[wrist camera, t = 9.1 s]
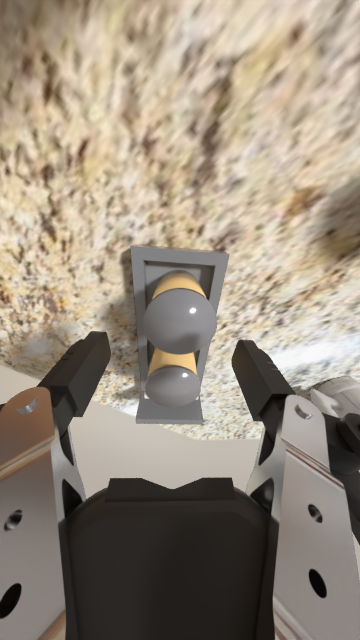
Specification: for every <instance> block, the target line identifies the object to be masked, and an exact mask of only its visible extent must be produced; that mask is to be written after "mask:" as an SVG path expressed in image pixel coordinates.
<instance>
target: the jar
mask: <svg viewBox="0 0 360 640" xmlns="http://www.w3.org/2000/svg"><path fill="white" fill-rule="evenodd" d="M143 328H144V332H145V335H146V337H147V338H148V340H149V341H150V342H151V343H152V344H153V345H154V346H155V347H156V348H158V349H159V350H161V351H164V352H166V353H170V354H176V355H183V354H189V353H193V352H196V351H198V350H200V349H201V348H203V347H204V346H206V345H207V344H208V343H209V342H210V341H211V339H212V338H213V336H214V334H215V332H216V328H217V317H216V314H215V311H214V309H213V307H212V305H211V303H210V302H209V301H208V299H207V298H206V296H205V294H204V292H203V290H202V288H201V286H200V284H199V282H198V280H197V278H196V277H195V276H194V275H193V274H191V273H190V272H187V271H185V270H173V271H170V272H168V273H166V274H165V275H163V276H162V277H161V279H160V280H159V282H158V284H157V287H156V290H155V293H154V296H153V298H152V301H151V302H150V304H149V305H148V307H147V310H146V312H145V315H144V319H143Z"/></svg>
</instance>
